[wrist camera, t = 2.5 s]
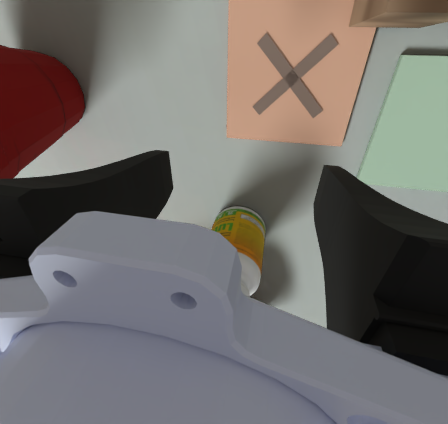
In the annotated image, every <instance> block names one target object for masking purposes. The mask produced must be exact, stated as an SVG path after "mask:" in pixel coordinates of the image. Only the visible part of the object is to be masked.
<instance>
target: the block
mask: <svg viewBox="0 0 448 424" xmlns="http://www.w3.org/2000/svg"><path fill="white" fill-rule="evenodd" d="M444 22H448V0H355V1H354V6H353V10H352V14H351V19H350V23H349V27H396V28H421V27H425V26H430V25H435V24H439V23H444Z"/></svg>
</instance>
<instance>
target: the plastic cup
mask: <svg viewBox="0 0 448 424" xmlns="http://www.w3.org/2000/svg"><path fill="white" fill-rule="evenodd" d="M84 109H85V104H84V95H83V92H82V90H81V88H80V85H79V83H78V81H77V79H76V78H75V77H74V75H73V74H72V73H71V72H70V70H69V69H68V68H67V67H66V66H65V65H64V64H62V63H61V62H60V61H58V60H57V59H55V58H54V57H51V56H48V55H45V54H42V53H38V52H35V51H30V50H23V49H15V48H9V47H5V46H2V45H0V179H13V178H14V177H15V176H16V175H17V174H18V173H19V171H21V170H22V169H23V168H24V167H26V166H27V165H28V164H29V163H30V162H32V161H33V160H34V159H35V158H37V157H38V156H39V155H40V154H41V153H43V152H44V151H45V150H46V149H48V148H49V147H50V146H51V145H52V144H54V143H55V142H56V141H57V140H58V139H59V138H61V137H62V136H63V134H64V133H66V132H67V131H68V130H70V129H71V128H72V127H73V126H74V125H76V124H77V123H78V122H79V120H80V119H81V118H82V116H83V112H84Z"/></svg>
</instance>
